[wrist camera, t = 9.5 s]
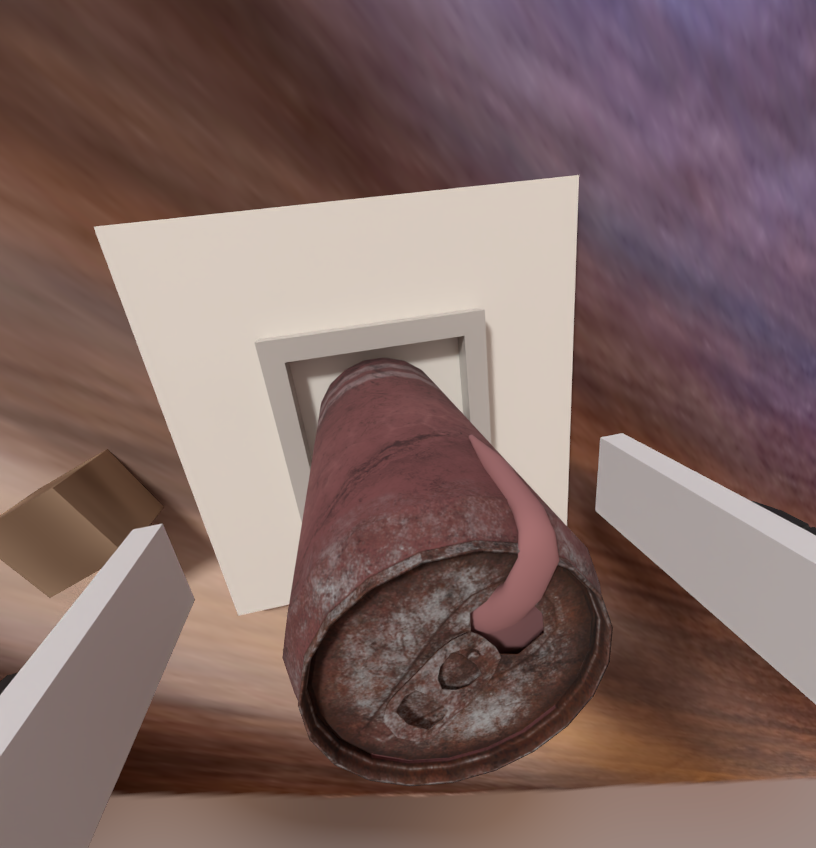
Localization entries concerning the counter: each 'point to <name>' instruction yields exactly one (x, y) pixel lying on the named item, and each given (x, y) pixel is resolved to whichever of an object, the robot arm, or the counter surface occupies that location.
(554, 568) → the can
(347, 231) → the board
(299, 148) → the counter surface
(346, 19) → the counter surface
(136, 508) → the walnut block
